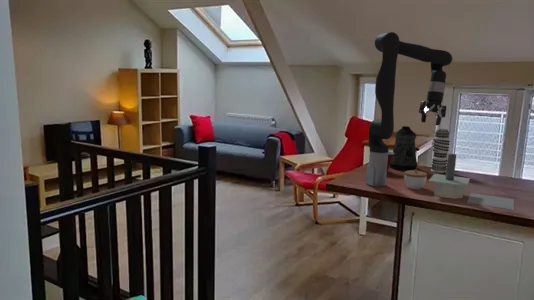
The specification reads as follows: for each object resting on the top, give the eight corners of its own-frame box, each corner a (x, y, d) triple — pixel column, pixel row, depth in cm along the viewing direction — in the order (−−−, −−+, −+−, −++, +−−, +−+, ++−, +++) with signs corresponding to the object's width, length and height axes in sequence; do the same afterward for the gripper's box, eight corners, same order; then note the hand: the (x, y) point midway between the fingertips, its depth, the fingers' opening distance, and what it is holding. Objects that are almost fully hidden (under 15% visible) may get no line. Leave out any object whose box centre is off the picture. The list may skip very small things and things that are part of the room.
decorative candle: (429, 171, 250) (433, 129, 246) (431, 168, 258) (435, 127, 254) (445, 173, 246) (450, 130, 241) (447, 170, 254) (451, 129, 250)
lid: (466, 187, 189) (469, 159, 187) (428, 182, 197) (431, 155, 195) (469, 180, 203) (472, 153, 201) (434, 175, 211) (436, 149, 209)
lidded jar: (427, 191, 208) (429, 172, 206) (404, 189, 209) (406, 171, 208) (423, 185, 218) (425, 167, 216) (402, 184, 220) (403, 166, 218)
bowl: (447, 200, 193) (449, 185, 192) (428, 192, 205) (429, 178, 203) (468, 197, 198) (470, 183, 197) (448, 190, 209) (449, 177, 208)
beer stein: (401, 171, 248) (404, 129, 244) (380, 164, 266) (383, 125, 261) (423, 169, 255) (427, 128, 250) (401, 163, 272) (404, 124, 268)
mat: (513, 210, 180) (513, 209, 180) (466, 203, 189) (467, 202, 189) (513, 200, 196) (513, 199, 196) (470, 194, 205) (470, 193, 204)
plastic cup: (394, 173, 243) (396, 153, 241) (375, 173, 243) (377, 152, 241) (389, 169, 253) (391, 149, 251) (371, 168, 254) (372, 149, 251)
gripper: (429, 88, 208) (423, 121, 208) (452, 94, 212) (447, 126, 213) (419, 89, 215) (413, 121, 215) (442, 94, 219) (436, 125, 220)
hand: (430, 123), depth 214 cm, fingers open, 8 cm apart
